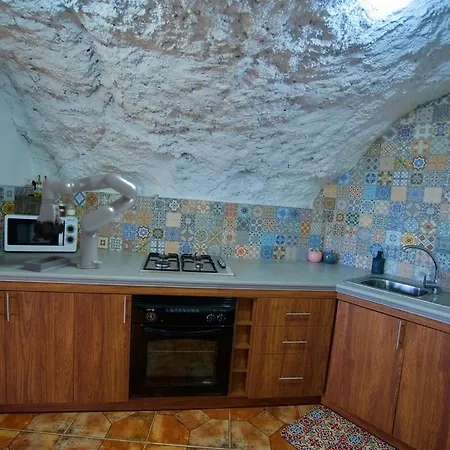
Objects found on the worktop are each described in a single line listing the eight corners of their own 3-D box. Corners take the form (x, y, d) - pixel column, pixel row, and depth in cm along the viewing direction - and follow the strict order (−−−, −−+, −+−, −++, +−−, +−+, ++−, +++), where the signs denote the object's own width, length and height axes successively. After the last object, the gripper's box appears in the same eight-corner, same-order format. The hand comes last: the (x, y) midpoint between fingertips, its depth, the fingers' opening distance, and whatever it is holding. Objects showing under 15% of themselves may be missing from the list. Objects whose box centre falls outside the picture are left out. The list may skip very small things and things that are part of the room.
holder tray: (70, 264, 191) (70, 257, 190) (40, 271, 169) (40, 264, 169) (54, 261, 193) (54, 255, 193) (23, 269, 172) (23, 262, 171)
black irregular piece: (28, 241, 171) (28, 222, 170) (55, 237, 189) (56, 221, 188) (38, 242, 169) (38, 224, 168) (65, 239, 187) (65, 222, 186)
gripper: (67, 203, 180) (66, 234, 181) (42, 201, 184) (41, 231, 185) (57, 203, 172) (57, 235, 174) (31, 201, 176) (30, 232, 178)
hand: (49, 233), depth 180 cm, fingers closed on black irregular piece, 7 cm apart
